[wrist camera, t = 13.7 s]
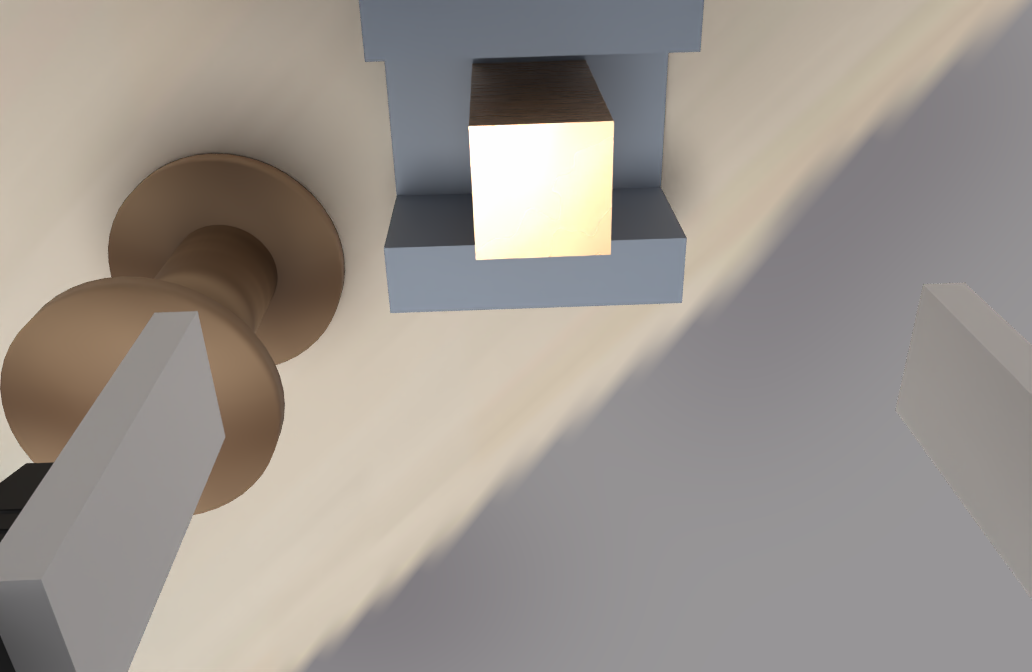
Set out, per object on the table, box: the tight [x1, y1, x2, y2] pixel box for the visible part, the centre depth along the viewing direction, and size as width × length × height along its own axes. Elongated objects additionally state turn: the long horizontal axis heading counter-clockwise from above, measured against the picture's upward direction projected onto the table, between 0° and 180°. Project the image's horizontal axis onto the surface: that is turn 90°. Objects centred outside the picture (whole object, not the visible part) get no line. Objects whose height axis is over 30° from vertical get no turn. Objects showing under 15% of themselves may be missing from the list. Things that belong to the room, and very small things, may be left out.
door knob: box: [0, 153, 345, 515], centre depth 32 cm, size 9×9×11 cm
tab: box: [469, 60, 614, 260], centre depth 29 cm, size 4×4×8 cm
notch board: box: [359, 0, 704, 313], centre depth 31 cm, size 11×10×6 cm
